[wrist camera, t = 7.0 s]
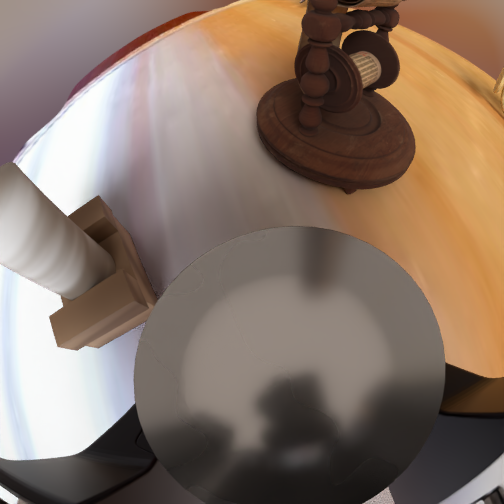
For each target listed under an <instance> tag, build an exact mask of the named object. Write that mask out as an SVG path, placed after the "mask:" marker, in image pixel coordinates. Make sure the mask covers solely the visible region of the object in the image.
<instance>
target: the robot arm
mask: <svg viewBox="0 0 504 504" xmlns="http://www.w3.org/2000/svg"><path fill="white" fill-rule="evenodd" d="M0 486H2V487H3V488H5V489H6V490H7V491H9V492H10V493H12V494H13V495H15V496H16V497H18V501H17V504H207V503H205V502H203V501H201V500H200V499H198V498H197V497H195V496H194V495H193V494H191V493H190V492H189V491H187V490H186V489H185V488H183V487H182V486H181V485H180V484H179V483H178V482H177V481H176V480H175V479H174V478H173V477H172V476H171V475H170V474H169V473H168V472H167V470H166V469H165V468H164V467H163V465H162V464H161V463H160V461H159V460H158V459H157V457H156V456H155V454H154V452H153V450H152V448H151V447H150V445H149V443H148V441H147V439H146V437H145V434H144V432H143V429H142V426H141V423H140V421H139V417H138V412H137V408H136V403H135V404H134V405H133V406H132V407H131V408H130V409H129V410H128V411H127V412H126V413H125V414H124V415H123V416H122V417H121V418H120V419H119V420H118V421H117V422H116V423H115V424H114V425H113V426H112V427H111V428H109V429H108V430H107V431H106V432H105V433H104V434H103V435H101V436H100V437H99V438H98V439H97V440H96V441H95V442H94V443H92V444H91V445H90V446H89V447H88V448H86V449H85V450H83V451H82V452H80V453H78V454H75V455H72V456H66V457H58V458H49V459H38V460H21V461H18V460H7V459H3V458H0ZM388 487H389V490H390V492H391V495H392V497H393V500H394V502H395V504H504V377H501V378H487V377H483V376H480V375H477V374H474V373H471V372H469V371H466V370H464V369H461V368H458V367H456V366H453V365H451V364H448V363H446V362H445V384H444V391H443V398H442V402H441V406H440V409H439V413H438V416H437V419H436V421H435V424H434V426H433V428H432V431H431V433H430V435H429V437H428V439H427V440H426V442H425V444H424V446H423V447H422V449H421V451H420V452H419V454H418V455H417V456H416V458H415V459H414V460H413V461H412V463H411V464H410V465H409V467H408V468H407V469H406V470H405V471H404V472H403V473H402V474H401V475H400V476H399V477H398V478H397V479H396V480H395V481H394V482H393V483H392V484H390V485H389V486H388ZM0 504H9V503H7V502H6V501H4V500H3V499H1V498H0Z"/></svg>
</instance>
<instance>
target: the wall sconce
mask: <svg viewBox="0 0 504 504" xmlns="http://www.w3.org/2000/svg"><path fill="white" fill-rule="evenodd" d="M503 85H504V68H503V69H502V71H501V73H500V75H499V77H498V79H497V82H496V84H495V87H494V93H498V92H499V91H500V90H501V88H502V87H503ZM501 106H502V110H503V113H504V87H503V90H502V93H501Z"/></svg>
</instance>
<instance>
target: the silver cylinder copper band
mask: <svg viewBox="0 0 504 504" xmlns="http://www.w3.org/2000/svg"><path fill="white" fill-rule="evenodd" d="M444 384H445V354H444V346H443V341H442V337H441V333H440V329H439V325H438V322H437V320H436V317H435V315H434V313H433V310H432V308H431V306H430V304H429V302H428V301H427V299H426V297H425V295H424V294H423V292H422V291H421V289H420V288H419V287H418V285H417V284H416V283H415V281H414V280H413V279H412V277H411V276H410V275H409V274H408V273H407V272H406V271H405V270H404V269H403V268H402V267H401V266H400V265H399V264H398V263H396V262H395V261H394V260H393V259H391V258H390V257H389V256H388V255H386V254H385V253H384V252H382V251H380V250H379V249H377V248H375V247H374V246H372V245H370V244H368V243H367V242H364V241H362V240H360V239H357V238H355V237H353V236H350V235H347V234H344V233H340V232H337V231H333V230H329V229H323V228H316V227H303V226H288V227H276V228H269V229H264V230H259V231H255V232H251V233H248V234H245V235H242V236H239V237H236V238H233V239H231V240H229V241H227V242H225V243H223V244H221V245H219V246H217V247H215V248H213V249H212V250H210V251H208V252H207V253H205V254H204V255H202V256H201V257H199V258H198V259H196V260H195V261H194V262H193V263H192V264H190V265H189V266H188V267H187V268H186V269H184V270H183V271H182V272H181V273H180V274H179V275H178V276H177V277H176V278H175V280H174V281H173V282H172V283H171V284H170V285H169V286H168V287H167V289H166V290H165V291H164V293H163V294H162V296H161V297H160V298H159V300H158V301H157V303H156V304H155V306H154V308H153V310H152V312H151V314H150V316H149V317H148V319H147V321H146V324H145V327H144V329H143V332H142V335H141V337H140V340H139V345H138V349H137V354H136V358H135V368H134V394H135V403H136V408H137V412H138V417H139V421H140V423H141V426H142V429H143V432H144V434H145V437H146V439H147V441H148V443H149V445H150V447H151V448H152V450H153V452H154V454H155V456H156V457H157V459H158V460H159V461H160V463H161V464H162V465H163V467H164V468H165V469H166V470H167V472H168V473H169V474H170V475H171V476H172V477H173V478H174V479H175V480H176V481H177V482H178V483H179V484H180V485H181V486H182V487H183V488H185V489H186V490H187V491H189V492H190V493H191V494H193V495H194V496H195V497H197V498H198V499H200V500H201V501H203V502H205V503H207V504H362V503H364V502H366V501H368V500H369V499H371V498H373V497H374V496H376V495H377V494H379V493H380V492H381V491H383V490H384V489H385V488H387V487H388V486H389V485H390V484H392V483H393V482H394V481H395V480H396V479H397V478H398V477H399V476H400V475H401V474H402V473H403V472H404V471H405V470H406V469H407V468H408V467H409V465H410V464H411V463H412V461H413V460H414V459H415V458H416V456H417V455H418V454H419V452H420V451H421V449H422V447H423V446H424V444H425V442H426V440H427V439H428V437H429V435H430V433H431V431H432V428H433V426H434V424H435V421H436V419H437V416H438V413H439V409H440V406H441V402H442V398H443V391H444Z"/></svg>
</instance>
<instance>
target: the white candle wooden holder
mask: <svg viewBox="0 0 504 504" xmlns="http://www.w3.org/2000/svg"><path fill="white" fill-rule="evenodd" d="M0 264H1V265H3V266H5V267H7V268H8V269H10V270H12V271H14V272H16V273H17V274H19V275H21V276H23V277H25V278H27V279H29V280H30V281H32V282H34V283H36V284H38V285H40V286H42V287H44V288H46V289H48V290H50V291H52V292H55V293H57V294H59V295H61V299H62V303H63V307H62V308H61V309H59V310H58V311H57V312H55V313H54V314H52V315H51V316H49V318H50V322H51V325H52V329H53V333H54V336H55V340H56V343H57V346H58V347H61V348H66V349H71V350H79V349H81V348H82V347H84V346H89V347H95V348H100V347H102V346H103V345H105V344H107V343H109V342H110V341H112V340H114V339H116V338H117V337H119V336H121V335H123V334H124V333H126V332H128V331H130V330H132V329H133V328H135V327H137V326H139V325H140V324H142V323H144V322H146V321H147V319H148V317H149V316H150V314H151V312H152V310H153V308H154V306H155V304H156V303H157V301H158V299H157V297H156V295H155V293H154V291H153V288H152V286H151V284H150V282H149V279H148V277H147V275H146V273H145V270H144V268H143V266H142V263H141V261H140V258H139V256H138V254H137V251H136V249H135V246H134V244H133V241H132V238H131V236H130V234H129V233H128V232H127V230H126V229H125V228H124V227H123V226H122V225H121V224H120V223H119V222H118V220H117V219H116V218H115V217H114V216H113V214H112V211H111V209H110V208H109V207H108V206H107V205H106V203H105V202H104V201H103V200H102V199H101V197H100V196H99V195H98V196H96V197H95V198H93V199H92V200H90V201H89V202H87V203H86V204H85V205H83V206H82V207H80V208H79V209H77V210H76V211H74V212H73V213H72V214H70V215H69V216H68V217H67V216H66V215H65V214H64V213H63V212H62V211H61V210H60V209H59V208H58V207H57V206H56V205H55V204H54V203H53V202H52V201H51V200H49V199H48V198H47V197H46V196H45V195H44V194H43V193H42V192H41V191H40V190H39V188H38V187H37V186H36V185H35V184H34V183H33V182H32V181H31V180H30V179H29V178H28V177H27V176H26V175H25V174H24V173H23V172H22V171H21V170H20V168H19V167H18V166H17V165H16V164H15V163H13V162H9V163H6V164H4V165H2V166H1V167H0Z"/></svg>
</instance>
